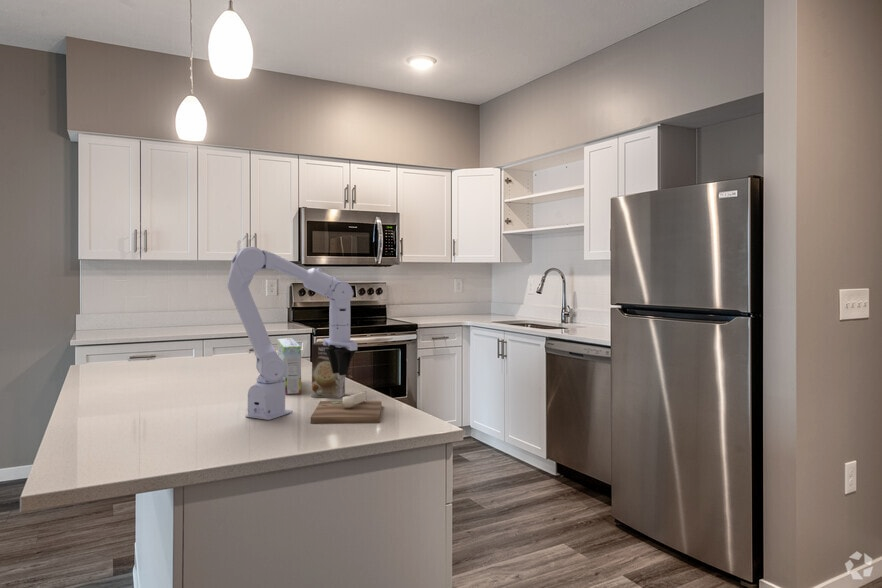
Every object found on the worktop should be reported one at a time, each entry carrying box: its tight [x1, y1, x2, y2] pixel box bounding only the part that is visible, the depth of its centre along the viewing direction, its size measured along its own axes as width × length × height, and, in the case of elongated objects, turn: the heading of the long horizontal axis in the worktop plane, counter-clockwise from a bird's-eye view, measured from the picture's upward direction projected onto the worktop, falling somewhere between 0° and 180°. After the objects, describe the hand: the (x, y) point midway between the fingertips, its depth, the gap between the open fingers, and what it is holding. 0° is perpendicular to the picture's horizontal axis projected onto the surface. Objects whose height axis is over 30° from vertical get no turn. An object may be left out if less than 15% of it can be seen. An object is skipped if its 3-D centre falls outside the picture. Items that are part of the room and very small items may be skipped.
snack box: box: [277, 337, 302, 396], centre depth 189 cm, size 21×6×15 cm, turn 21°
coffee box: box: [310, 341, 346, 399], centre depth 178 cm, size 9×6×16 cm
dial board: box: [310, 400, 383, 424], centre depth 155 cm, size 18×17×2 cm
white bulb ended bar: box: [342, 390, 367, 407], centre depth 159 cm, size 10×3×2 cm, turn 156°
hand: (339, 374), depth 162 cm, fingers open, 3 cm apart
